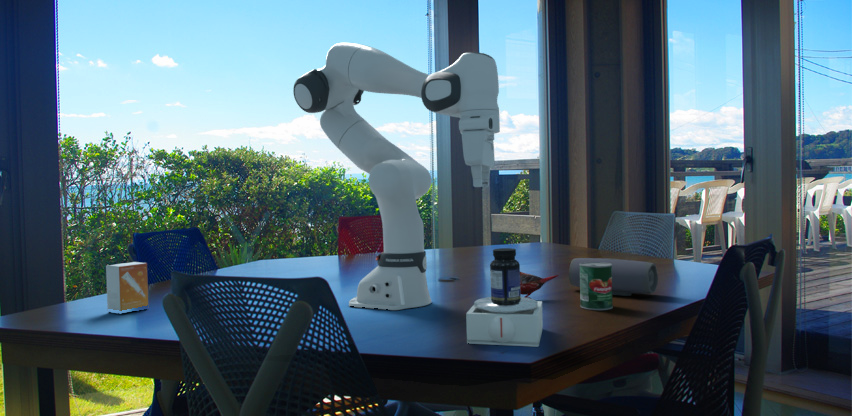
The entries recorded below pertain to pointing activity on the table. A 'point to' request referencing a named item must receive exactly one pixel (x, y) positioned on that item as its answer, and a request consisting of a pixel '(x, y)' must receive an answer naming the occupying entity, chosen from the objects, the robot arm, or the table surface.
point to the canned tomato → (596, 285)
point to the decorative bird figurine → (531, 283)
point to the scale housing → (505, 327)
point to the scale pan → (505, 306)
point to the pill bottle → (505, 277)
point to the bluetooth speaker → (622, 275)
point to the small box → (127, 285)
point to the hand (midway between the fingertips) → (481, 187)
